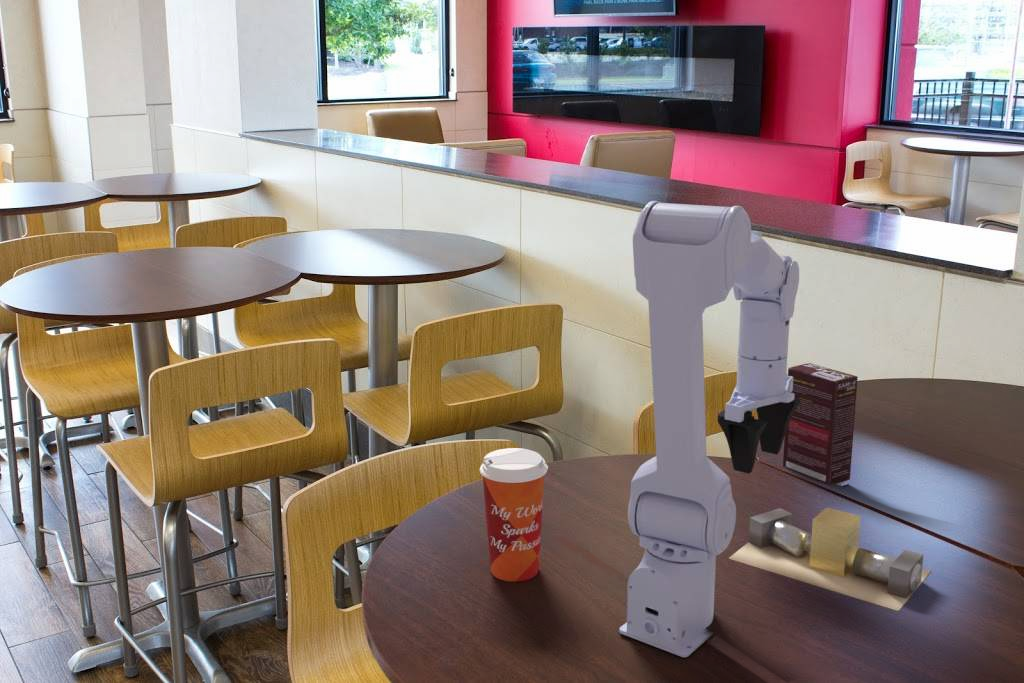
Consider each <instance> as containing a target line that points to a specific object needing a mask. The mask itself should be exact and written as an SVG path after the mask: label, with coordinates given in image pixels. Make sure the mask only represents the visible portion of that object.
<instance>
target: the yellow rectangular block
mask: <svg viewBox="0 0 1024 683" xmlns="http://www.w3.org/2000/svg"><path fill="white" fill-rule="evenodd" d="M861 518H862V516H861V515H857V514H854V513H850V512H847V511H842V510H838V509H835V508H830V507H825V508H824V509H823V510H821V511H820V512H819V513H818V514H817V515H816V516H815V517H814V518H812V525H811V527H812V528H811V536H812V538H811V552H810V566H809V568H813V569H816V570H819V571H823V572H826V573H829V574H833V575H836V576H839V577H843V578H844V577H845V576H846V575H847V574H848V573H849V572H850V571H851V570H852V569H853V560H854V557H855V554H856V552H857V550H858V549H859V544H860V543H859V542H860V532H861V530H860V529H861V520H862V519H861Z"/></svg>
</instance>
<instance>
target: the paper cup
mask: <svg viewBox="0 0 1024 683" xmlns="http://www.w3.org/2000/svg"><path fill="white" fill-rule="evenodd" d="M548 469H549V466H548V464H547V463H546V461H545V459H544V458H543V457H542V454H540V453H538V452H537V451H534V450H531V449H527V448H517V447H509V448H500V449H496V450H494V451H493V450H492V451H490V452H488V453H487V454H486V455H484V457H483V460H482V464H481V465H480V467H479V472H480V475H481V476H482V481H483V494H484V509H485V510H484V511H485V522H486V532H487V533H486V534H487V543H488V554H489V564H490V572H491V575H492V576H493V577H494V578H496V579H498V580H500V581H503V582H510V583H518V582H525V581H528V580H531V579H533V578H535V577H536V576H537V575H538V572H539V569H540V568H539V567H540V559H541V558H540V555H541V544H542V542H541V539H542V524H543V505H544V490H545V488H544V485H545V475H546V474H547V472H548Z"/></svg>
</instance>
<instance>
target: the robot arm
mask: <svg viewBox="0 0 1024 683" xmlns="http://www.w3.org/2000/svg"><path fill="white" fill-rule="evenodd" d="M632 251H633V252H632V254H633V270H634V278H635V290H636V291H637V293H639V294H640V295H641V296H642V297H643V298H645V300H647V301H648V302H647V303H648V317H649V318H648V322H649V323H648V324H649V337H650V338H649V339H650V340H649V341H650V356H651V358H650V359H651V360H650V363H651V374H652V375H651V380H652V381H651V382H652V396H653V398H652V399H653V400H652V401H653V412H654V413H653V414H654V418H653V420H654V433H655V435H654V436H655V438H654V439H655V456H653V457H652V458H650V459H648V460H647V461H645V462H644V463H642V464H641V465H640V466H639V468H638V469H637V470H636V471H635V473H634V476H633V478H632V479H631V482H630V498H629V501H628V506H627V522H628V525H629V528H630V530H631V532H632V534H633V535H635V536H636V537H639V540H638V541H639V546H638V547H641V548H643V549H644V552H643V556H642V559H641V561H640V563H639V565H638V566H637V567H636V568H635V569H634V570H633V571H632V573H631V574H630V576H629V577H628V580H627V585H626V586H627V588H626V589H627V593H626V595H627V596H626V600H627V601H626V622H625V623H623V625H621V626H620V627H619V630H618V631H619V633H620V634H621V635H623V636H627V637H629V638H631V639H634V640H637V641H639V642H642V643H644V644H647V645H650V646H653V647H655V648H658V649H660V650H663V651H666V652H668V653H670V654H672V655H675V656H679V657H680V658H687V657H689V656H690V655H692V653H693V652H695V651H696V650H697V649H698V648H699V647H701V645H703V644H704V643H705V642H706V641H707V640H708V639H709V638H711V636H713V635H714V633H713V632H712V631H711V630H709V629H707V628H708V627H709V626H710V625H711V624H712V623H713V620H714V612H715V611H714V610H715V609H714V608H715V586H716V585H715V584H716V562H717V556H719V555H720V554H721V553H723V552H724V551H725V550H726V549H727V548H728V547H729V545H730V543H731V540H732V538H733V534H734V531H735V526H736V520H737V507H736V502H735V500H734V499H733V498H734V497H733V493H732V485H731V478H730V477H729V476H728V475H727V474H726V473H725V472H724V471H723V470H722V468H720V467H719V466H718V465H717V464H715V463H714V461H712V460H711V459H710V458H709V457H708V456H707V434H706V433H707V432H706V431H707V430H706V428H707V426H706V394H705V393H706V392H705V391H706V390H705V364H704V363H705V362H704V361H705V358H704V327H703V326H704V325H703V324H704V322H703V313H704V312H705V310H706V309H707V308H710V307H713V306H714V305H717V304H719V303H722V302H724V301H725V302H726V300H727V298H728V295H729V293H730V292H731V290H732V289H733V295H734V298H735V301H740V307H739V324H738V326H739V328H738V329H739V330H738V347H737V348H738V349H737V350H738V351H737V352H738V353H737V370H736V371H737V372H736V385H735V387H734V389H733V391H732V395H731V397H730V399H729V401H727V402H726V403H725V406H724V409H723V410H721V411H720V412H718V414H717V423H718V424H719V426H720V428H721V430H722V432H723V434H724V437H725V439H726V441H727V445H728V449H729V454H730V458H731V462H732V467H733V470H734V471H737V472H739V473H744V474H748V475H749V474H751V473H752V472H753V469H754V467H755V463H756V457H757V451H758V446H759V444H760V450H761V452H764V453H767V454H771V455H776V456H777V455H778V454H779V453H780V451H781V448H782V446H783V444H784V437H785V433H786V430H787V427H788V424H789V422H790V420H791V418H792V415H793V414H794V412H795V410H796V409H797V407H798V406H799V404H800V398H799V397H796V396H795V394H794V393H790V392H792V391H793V377H792V376H788V375H787V372H788V370H787V367H788V351H789V335H790V320H791V318H793V317H794V312H795V304H796V297H797V294H798V289H799V284H800V283H799V282H800V266H799V264H798V262H797V261H795V260H793V259H792V257H791V256H790V255H779V253H777V252H776V250H774V249H773V247H772V246H771V245H770V244H769V243H768V242H766V240H765V239H764V238H763V234H762V233H761V232H760V231H758V230H752V223H751V219H750V216H749V215H748V212H747V211H746V210H745V209H744V207H743V206H741V205H733V206H720V205H719V206H718V205H717V206H715V205H702V204H684V203H672V202H671V203H669V202H668V203H667V202H661V201H658V200H651V201H649V202H648V203H647V204H646V205H645V206H644V207H643V209H642V210H641V211H640V213H639V215H638V217H637V221H636V225H635V228H634V230H633V234H632ZM741 300H742V301H741ZM755 410H756V414H757V419H756V418H755V416H754V415H753V411H755Z"/></svg>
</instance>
